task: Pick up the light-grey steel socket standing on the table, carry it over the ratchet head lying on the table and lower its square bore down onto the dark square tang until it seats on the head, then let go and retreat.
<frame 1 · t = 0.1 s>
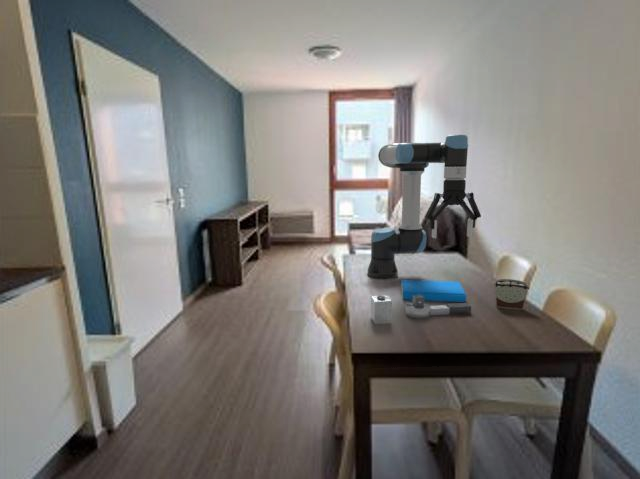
hand: (451, 237, 142), 28 cm above the table, fingers open, 13 cm apart
food container: (508, 306, 150), on the table
socket: (380, 320, 137), on the table
book: (431, 295, 164), on the table
ratchet: (417, 314, 142), on the table
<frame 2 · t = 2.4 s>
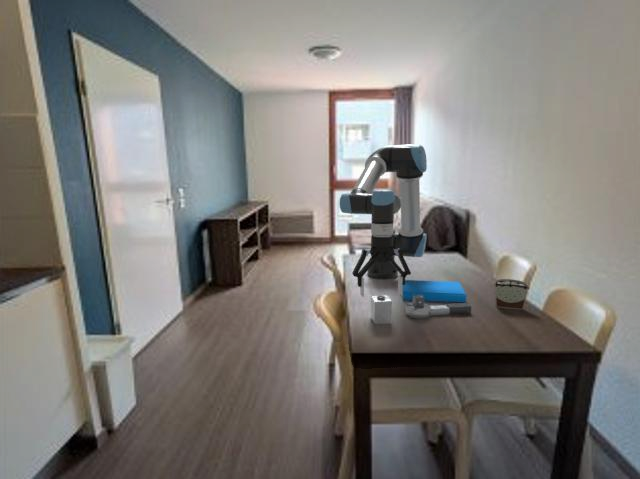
hand: (381, 294, 135), 10 cm above the table, fingers open, 13 cm apart
nothing on the table moved.
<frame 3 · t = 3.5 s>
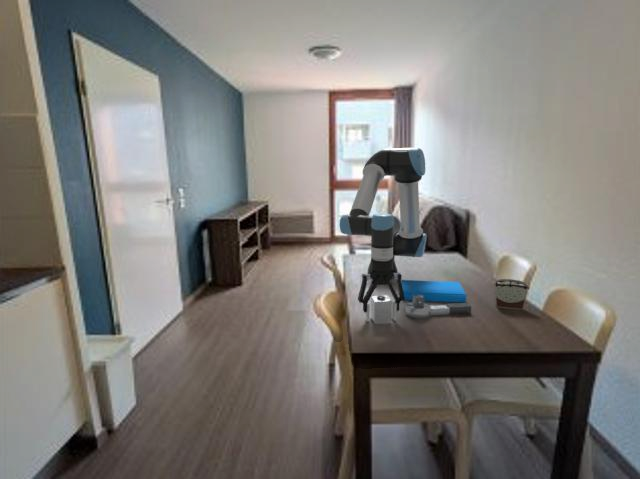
hand: (380, 319, 137), 0 cm above the table, fingers open, 9 cm apart
nothing on the table moved.
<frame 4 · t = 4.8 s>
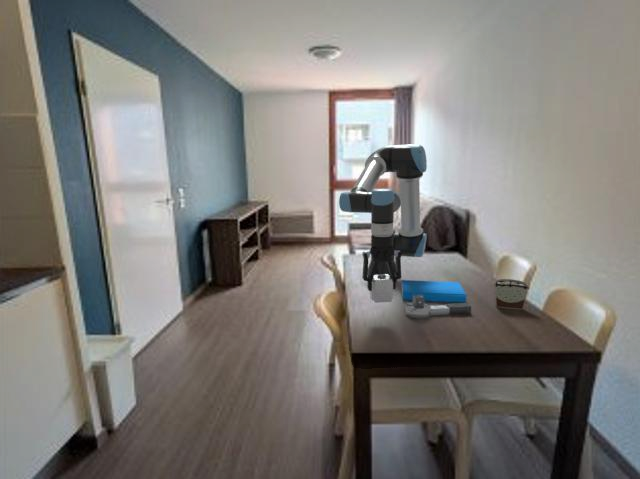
hand: (381, 298, 136), 8 cm above the table, fingers closed on socket, 6 cm apart
socket: (381, 299, 136), point 8 cm above the table, touching gripper
everything else where it was.
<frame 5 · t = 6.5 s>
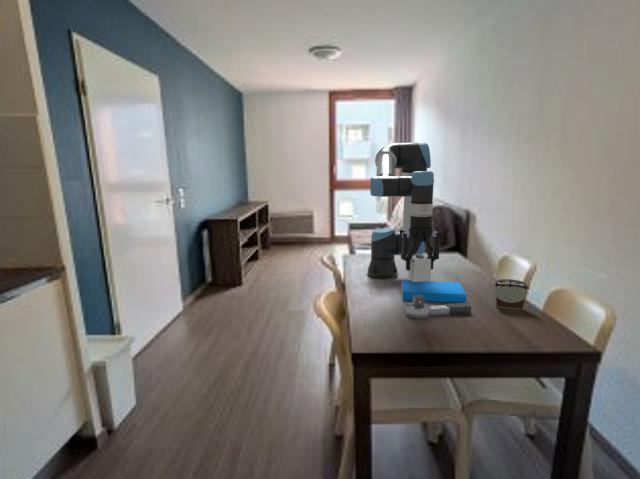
hand: (419, 278, 140), 14 cm above the table, fingers closed on socket, 6 cm apart
socket: (418, 278, 140), point 14 cm above the table, touching gripper
everything else where it was.
when the fingers open (4 cm above the table, at t = 8.3 s): socket drops 1 cm, resting on ratchet.
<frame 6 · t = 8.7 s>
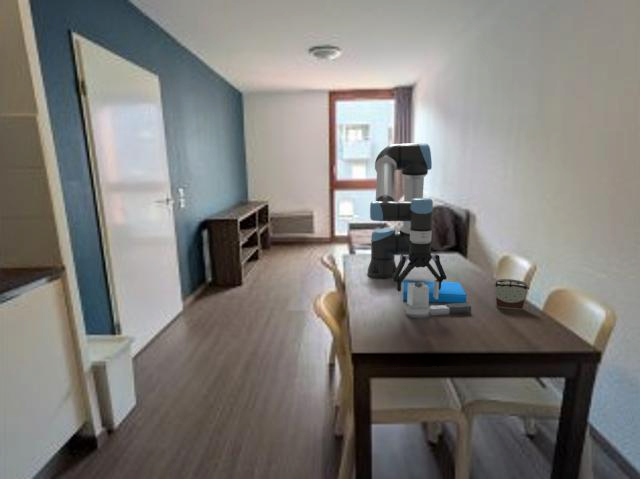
hand: (418, 298, 141), 6 cm above the table, fingers open, 12 cm apart
socket: (417, 306, 142), point 3 cm above the table, touching ratchet
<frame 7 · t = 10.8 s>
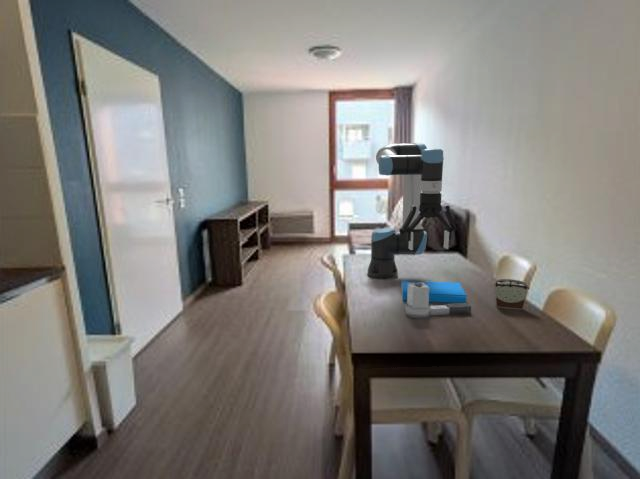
hand: (428, 248, 145), 23 cm above the table, fingers open, 13 cm apart
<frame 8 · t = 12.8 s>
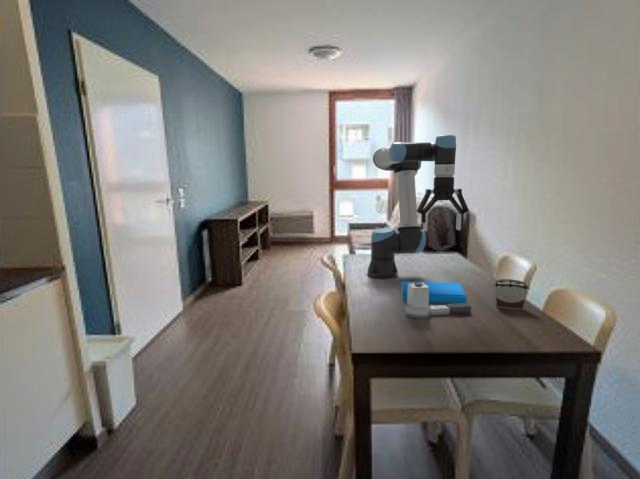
hand: (441, 230, 153), 29 cm above the table, fingers open, 13 cm apart
at the end: socket 0.3 cm off-centre on the ratchet, point 3.0 cm above the ratchet's base; socket tilted 0°; the gripper is holding nothing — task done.
